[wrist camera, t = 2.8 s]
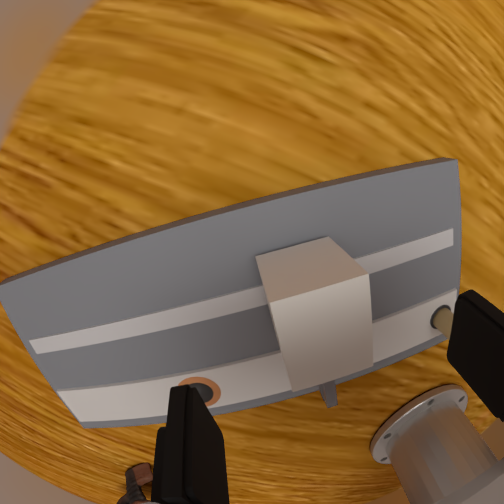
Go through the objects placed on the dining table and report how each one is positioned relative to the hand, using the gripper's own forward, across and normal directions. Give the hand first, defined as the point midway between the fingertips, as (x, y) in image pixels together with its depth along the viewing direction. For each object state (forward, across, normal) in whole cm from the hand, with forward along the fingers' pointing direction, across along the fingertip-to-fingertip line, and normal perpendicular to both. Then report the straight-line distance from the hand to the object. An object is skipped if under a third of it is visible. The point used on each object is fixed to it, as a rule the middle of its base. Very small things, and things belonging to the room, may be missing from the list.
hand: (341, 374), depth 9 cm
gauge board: (+10, +4, +3) cm, 11 cm away
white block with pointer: (+8, 0, +3) cm, 8 cm away
